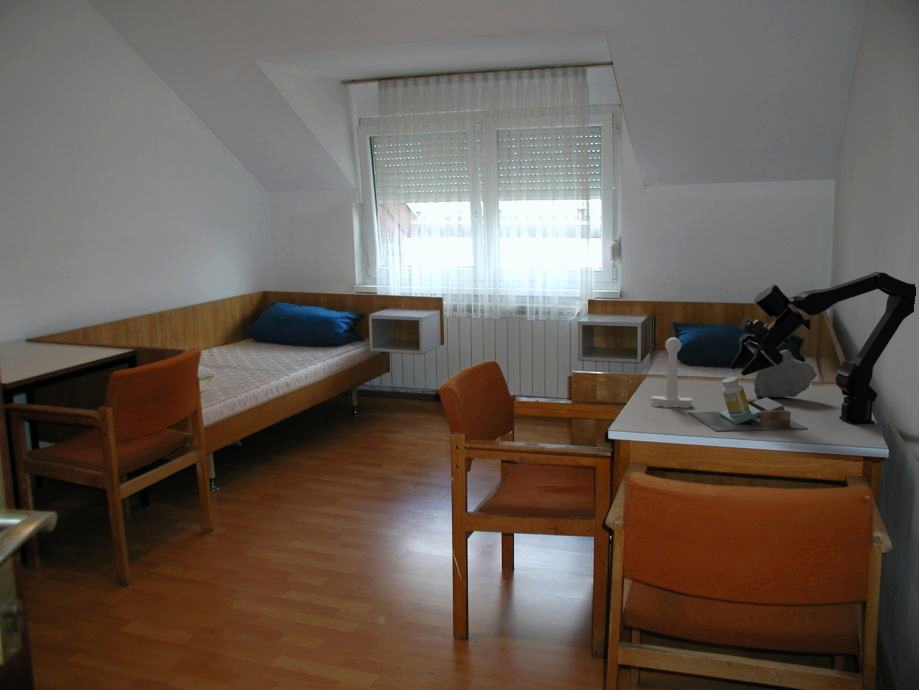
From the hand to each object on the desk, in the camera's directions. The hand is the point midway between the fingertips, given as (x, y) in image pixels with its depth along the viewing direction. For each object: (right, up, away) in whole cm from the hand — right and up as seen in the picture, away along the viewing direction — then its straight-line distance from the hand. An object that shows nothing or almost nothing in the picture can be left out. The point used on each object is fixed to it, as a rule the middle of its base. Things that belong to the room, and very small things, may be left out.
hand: (736, 371), depth 212 cm
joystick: (-11, -11, +22) cm, 27 cm away
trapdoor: (+5, -12, +2) cm, 13 cm away
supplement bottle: (+1, -11, +1) cm, 11 cm away
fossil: (+24, -9, +29) cm, 39 cm away
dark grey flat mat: (+3, -13, +2) cm, 14 cm away
